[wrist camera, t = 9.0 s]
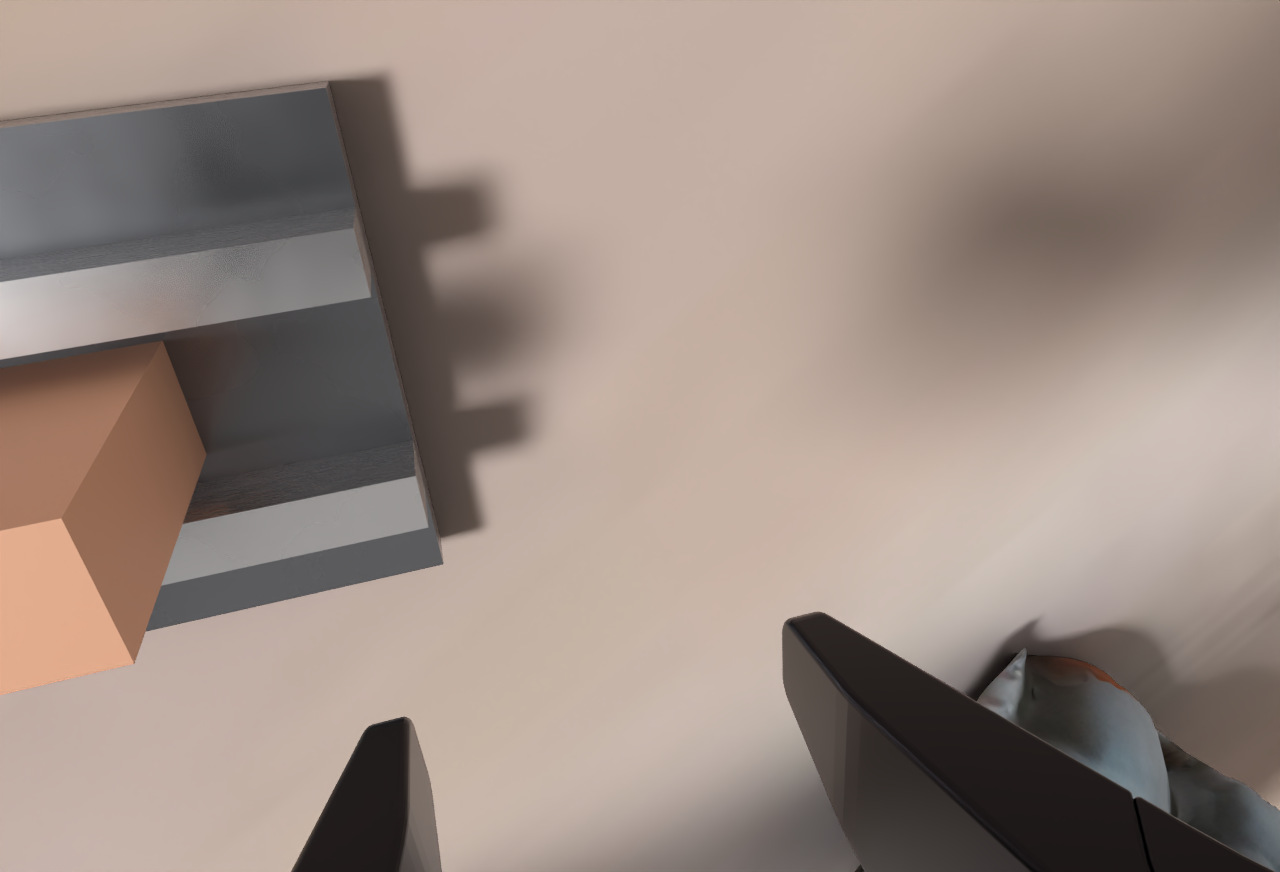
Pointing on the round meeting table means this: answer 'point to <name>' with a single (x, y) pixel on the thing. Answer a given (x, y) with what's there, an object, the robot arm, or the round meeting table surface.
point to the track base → (228, 328)
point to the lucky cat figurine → (1130, 750)
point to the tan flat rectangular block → (88, 507)
